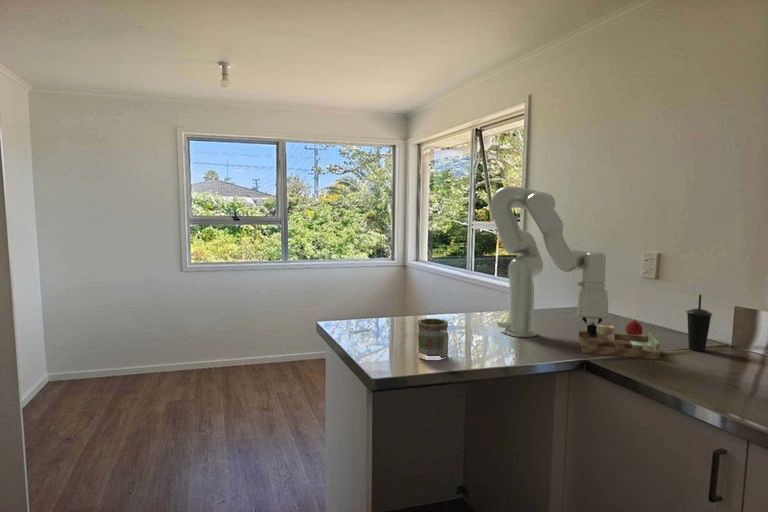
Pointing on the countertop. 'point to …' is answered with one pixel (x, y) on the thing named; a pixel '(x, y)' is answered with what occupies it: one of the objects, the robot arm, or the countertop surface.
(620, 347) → the track
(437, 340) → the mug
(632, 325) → the onion
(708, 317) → the drinking cup
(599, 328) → the block
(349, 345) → the countertop surface
